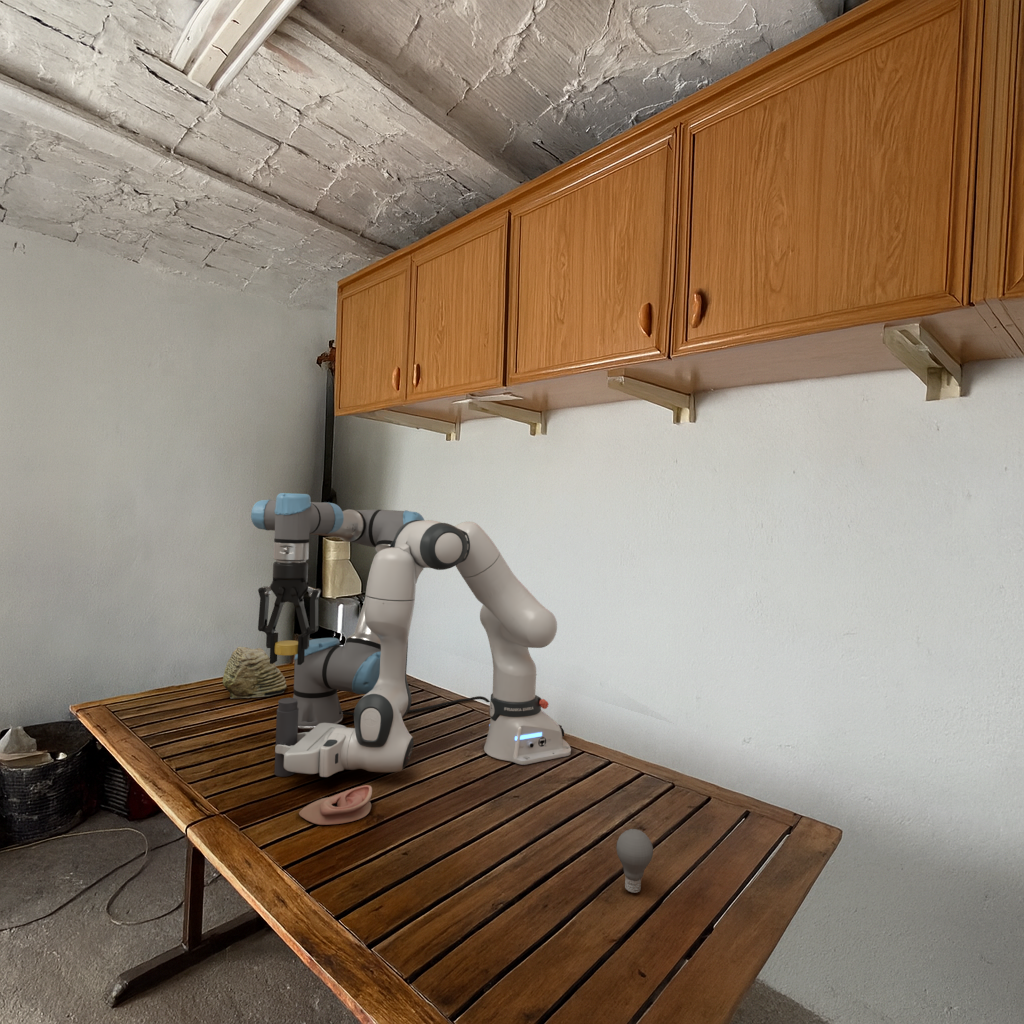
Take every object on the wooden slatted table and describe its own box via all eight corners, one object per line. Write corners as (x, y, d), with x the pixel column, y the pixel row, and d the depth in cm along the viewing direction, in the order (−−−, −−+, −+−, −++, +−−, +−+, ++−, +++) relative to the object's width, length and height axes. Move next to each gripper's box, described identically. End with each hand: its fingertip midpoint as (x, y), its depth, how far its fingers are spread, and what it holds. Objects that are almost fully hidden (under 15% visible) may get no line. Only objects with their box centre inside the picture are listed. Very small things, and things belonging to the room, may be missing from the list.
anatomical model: (291, 800, 123) (320, 775, 134) (290, 820, 123) (320, 794, 134) (354, 810, 120) (379, 784, 132) (353, 830, 121) (378, 803, 132)
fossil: (218, 695, 195) (220, 647, 195) (278, 685, 208) (279, 640, 207) (228, 703, 189) (230, 653, 188) (289, 692, 201) (290, 645, 201)
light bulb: (610, 879, 108) (613, 822, 108) (644, 879, 109) (647, 822, 109) (619, 902, 102) (622, 840, 102) (655, 901, 103) (658, 840, 103)
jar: (295, 767, 148) (298, 696, 147) (296, 775, 143) (299, 702, 143) (274, 769, 146) (277, 698, 146) (274, 777, 142) (277, 704, 141)
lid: (273, 656, 140) (273, 646, 140) (274, 650, 146) (275, 640, 146) (300, 655, 142) (300, 645, 142) (300, 649, 148) (300, 639, 147)
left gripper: (243, 561, 140) (239, 665, 140) (327, 564, 140) (323, 668, 141) (256, 557, 147) (252, 657, 148) (336, 561, 148) (332, 660, 148)
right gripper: (357, 718, 154) (302, 714, 155) (324, 751, 133) (261, 746, 134) (356, 744, 154) (301, 739, 155) (323, 781, 133) (260, 775, 135)
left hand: (287, 662), depth 144 cm, fingers closed on lid, 5 cm apart
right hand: (282, 742), depth 145 cm, fingers closed on jar, 5 cm apart
